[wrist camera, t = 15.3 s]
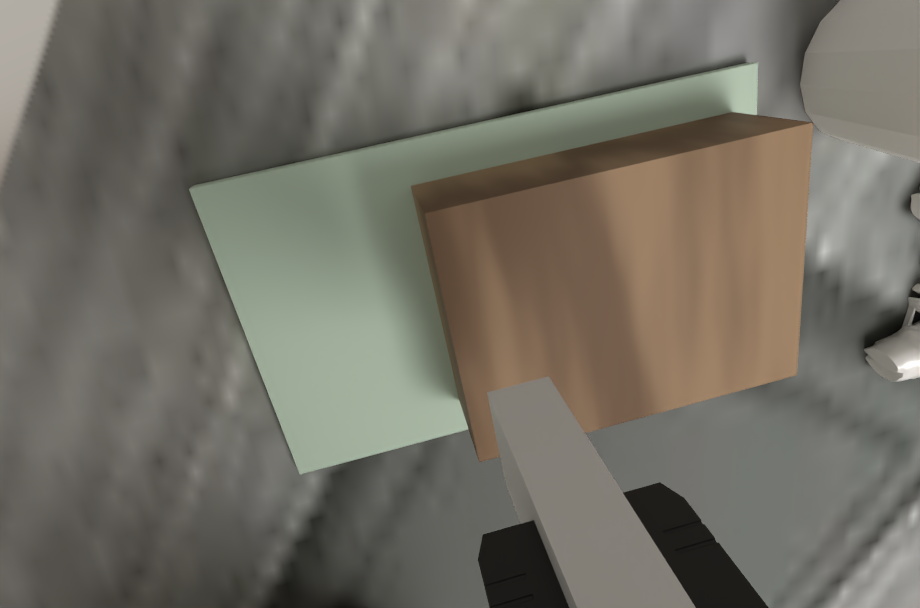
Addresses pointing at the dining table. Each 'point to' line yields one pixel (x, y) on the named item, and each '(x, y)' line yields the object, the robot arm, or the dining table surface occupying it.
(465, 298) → the walnut slab
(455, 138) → the mat
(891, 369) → the seated beast figurine
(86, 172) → the dining table surface
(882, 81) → the white mug
